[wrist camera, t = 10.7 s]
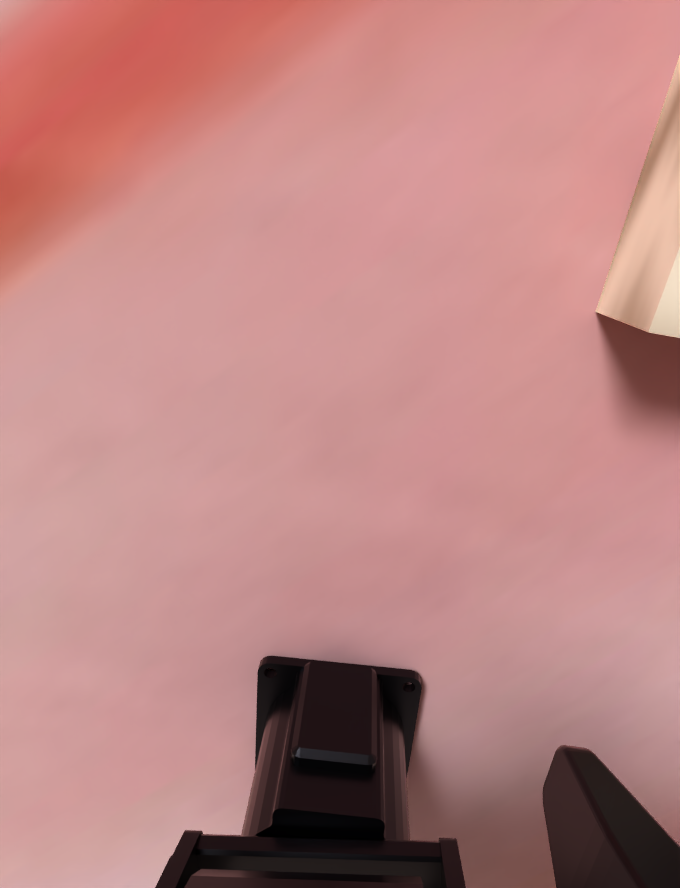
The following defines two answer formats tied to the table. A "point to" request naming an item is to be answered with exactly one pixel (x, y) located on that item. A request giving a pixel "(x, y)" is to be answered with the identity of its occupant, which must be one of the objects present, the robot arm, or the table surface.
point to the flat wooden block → (651, 236)
